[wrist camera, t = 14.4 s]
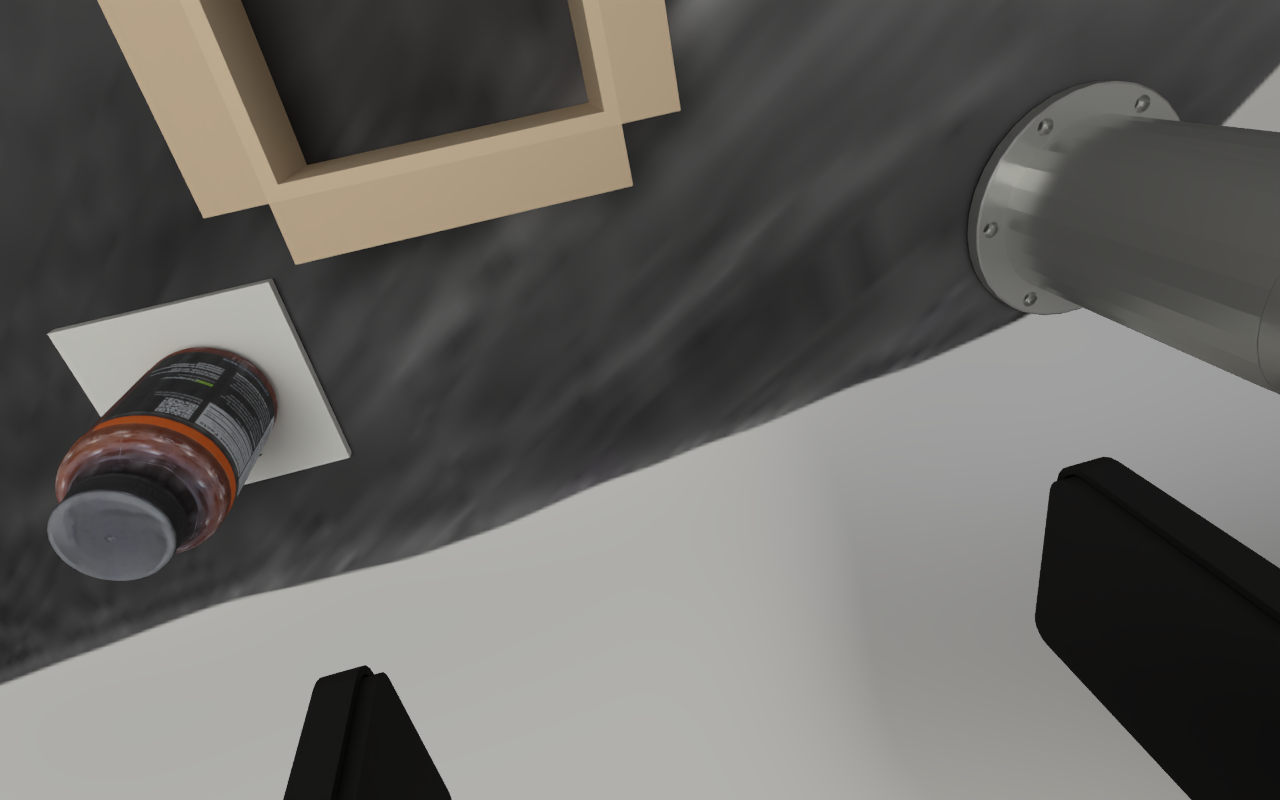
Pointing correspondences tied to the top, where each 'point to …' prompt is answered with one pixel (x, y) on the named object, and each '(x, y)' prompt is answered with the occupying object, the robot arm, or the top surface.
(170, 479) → the supplement bottle
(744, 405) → the top surface
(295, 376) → the mat
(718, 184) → the top surface
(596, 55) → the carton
